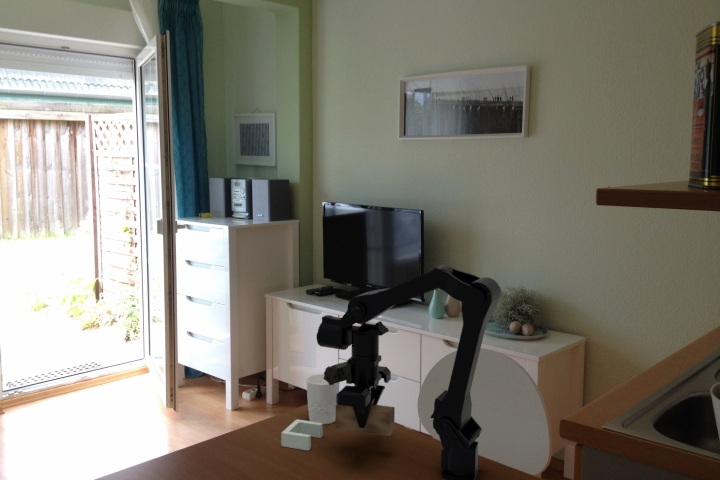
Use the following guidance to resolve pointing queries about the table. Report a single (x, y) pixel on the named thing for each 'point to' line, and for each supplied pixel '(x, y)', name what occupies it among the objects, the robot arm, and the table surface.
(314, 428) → the bracket
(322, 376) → the white cup
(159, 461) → the table surface
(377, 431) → the brown wooden block
